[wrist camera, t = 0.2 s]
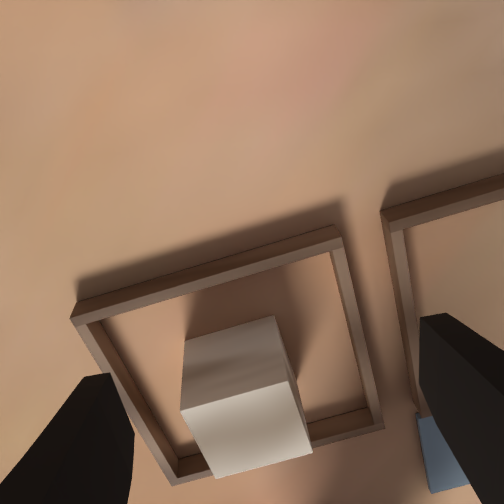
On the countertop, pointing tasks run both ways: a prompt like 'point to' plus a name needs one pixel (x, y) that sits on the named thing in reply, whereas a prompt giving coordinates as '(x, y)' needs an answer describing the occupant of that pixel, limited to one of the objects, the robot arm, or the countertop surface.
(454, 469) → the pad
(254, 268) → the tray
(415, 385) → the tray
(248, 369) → the cube
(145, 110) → the countertop surface
